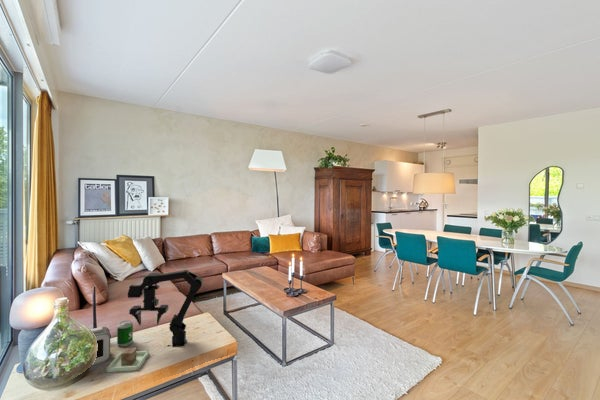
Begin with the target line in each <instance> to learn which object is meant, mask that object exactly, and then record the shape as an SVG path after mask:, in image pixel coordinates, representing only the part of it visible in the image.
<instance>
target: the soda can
mask: <svg viewBox="0 0 600 400" xmlns="http://www.w3.org/2000/svg"><path fill="white" fill-rule="evenodd" d="M116 329H117V331H116V333H117V334H116V336H117V337H116V344H117V345H118V346H119V347H126V346H130V345H131V343H132V342H133V339H134V323H133V321H132V320H123V321H121V322H119V323H118V325H117V327H116Z"/></svg>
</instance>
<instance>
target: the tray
mask: <svg viewBox="0 0 600 400" xmlns="http://www.w3.org/2000/svg"><path fill="white" fill-rule="evenodd" d="M122 352H123V351H121V352H119V353H118V354H117V355H116V356H115V358H114V359H113V360H112V362H111V363H110V364H109V365H108V366H107V367H106V368H105V369H106V370H105V371H106V372H105V373H116V372H132V371H139V370H140V368H141V366H142V365H143V364H144V363H145V360H146V359H147V358H148V356H149V355H150V351H149V350H142V351H141V350H140V351H138V350H136V360H135V362H134V363H133V365H126V366H121V354H122Z"/></svg>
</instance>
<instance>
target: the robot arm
mask: <svg viewBox="0 0 600 400" xmlns="http://www.w3.org/2000/svg"><path fill="white" fill-rule="evenodd" d="M180 279H183V280H185V281H186V283H188V284H189V285H190V286H189V290H188V293H187V296H186V297H185V299H184V301H183V304H182V306H181V307H180V310H179V311H178V313H177V314H173V317H172V319H171V321H170V322H169V325H168V326H169V329H168V330H169V331H170V332H171V333H172V334H173V335H172V336H171V344H172V345H171V347H184V346H185V345H186V343H187V341H188V340H187V331H186V328H187V325H186V324H185V323H184V320H185V315H186V314H187V312H188V310H189V308H190V305H191V303H192V302H193V299H194V297H195V295H196V294H197V293H198V292H199V291H200V289H201V288H202V286H203V283H204V278H203V277H201V276H199V275H197V274H195V273H192V272H191V271H189V270H188V269H184V270H180V271H172V272H166V273H158V272H151V273H148V274H147V275H146V276H144V277H143V279H142V283H141V284H130V286H129V287H128V288H129V289H128V290H127V291H128V292H127V298H128V299H138V298H139V299H140V298H141V297H142V296H143V300H142V303H143V307H142V306H141V305H133V306H132V307H131V308H130V309H129V312H128V314H129V315H130V316H132V317H133V318H134V319H136V322H137V323H138V325H139V326H141V325H142V312H158V313H156V315H157V317H156V325H159V323H160V321H161V318H162V316H163V315H164V314H166V313H167V312H168V310H169V305H168V304H160V305H159V301H160V299H159V298H157V297H156V290H158V289H159V288H160V285H159V284H160V283H162V282H167V281H168V282H169V281H174V280H180ZM158 305H159V306H158Z"/></svg>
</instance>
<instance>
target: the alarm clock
mask: <svg viewBox="0 0 600 400" xmlns="http://www.w3.org/2000/svg"><path fill="white" fill-rule="evenodd" d="M89 329H90V330H91V331H92V332H93V333H94V334H95V336H96V338H97V343H98V351H97V357H96V360H95V362H94V364H93V365H92V366H95V365H98V364H102V363H105V362H106V361H108V360H109V359H110V356H111V332H110V331H111V330H110V328H109V327H107V326H100V327H95V328H89Z"/></svg>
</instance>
